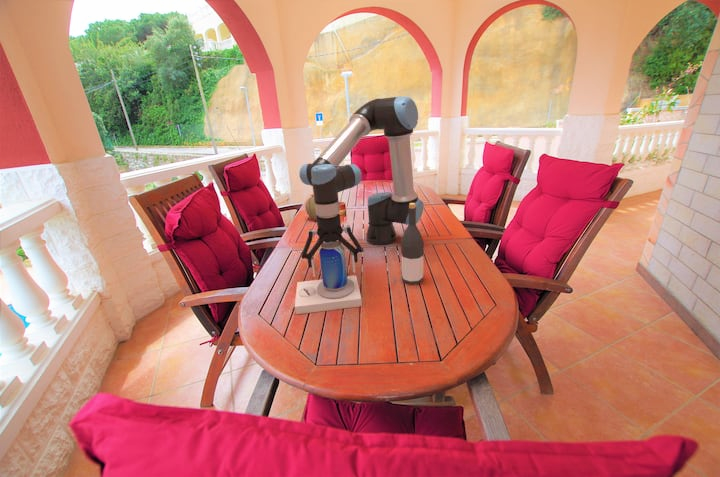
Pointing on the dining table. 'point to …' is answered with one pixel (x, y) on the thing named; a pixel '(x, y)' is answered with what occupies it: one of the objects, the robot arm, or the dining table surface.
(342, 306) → the scale
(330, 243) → the beer can
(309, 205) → the cantaloupe
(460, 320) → the dining table surface
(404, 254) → the wine bottle
